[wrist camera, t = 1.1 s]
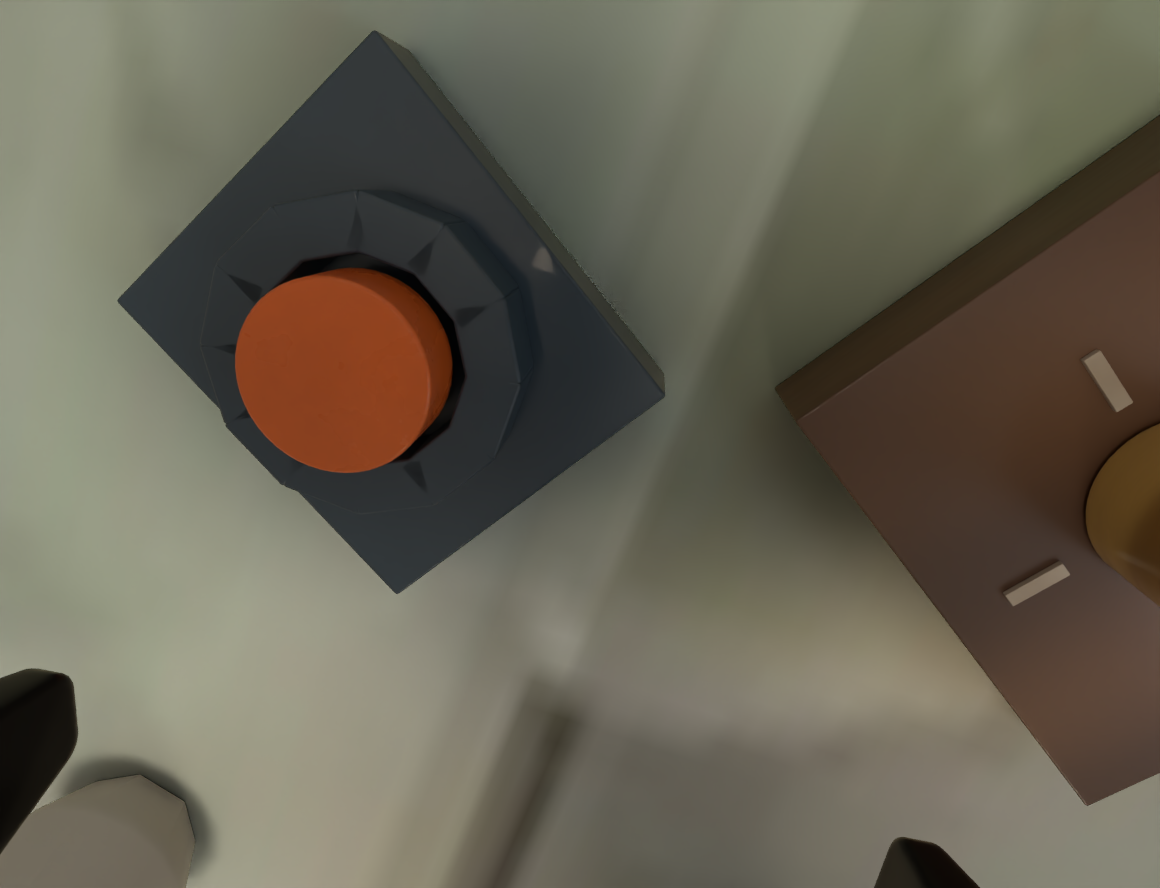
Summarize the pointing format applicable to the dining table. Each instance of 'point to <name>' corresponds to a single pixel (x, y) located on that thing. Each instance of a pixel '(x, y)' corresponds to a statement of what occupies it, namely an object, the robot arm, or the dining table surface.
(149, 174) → the dining table surface
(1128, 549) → the dial
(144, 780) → the salt shaker
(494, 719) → the dining table surface
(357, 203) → the button housing
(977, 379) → the dial panel
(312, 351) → the button
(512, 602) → the dining table surface
